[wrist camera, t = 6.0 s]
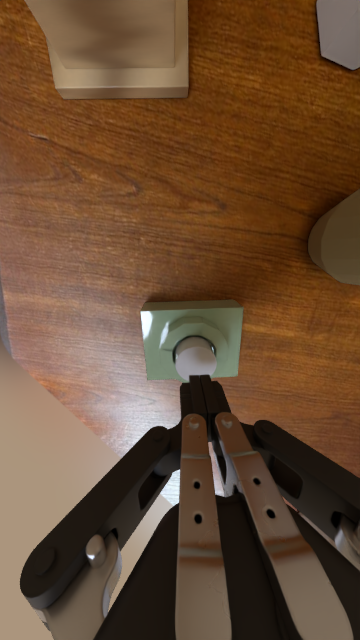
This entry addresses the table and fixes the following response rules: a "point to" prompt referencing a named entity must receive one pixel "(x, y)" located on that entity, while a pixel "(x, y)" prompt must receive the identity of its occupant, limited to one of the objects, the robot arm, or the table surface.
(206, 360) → the grey push button
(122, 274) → the table surface
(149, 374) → the green button base
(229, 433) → the robot arm
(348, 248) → the squeeze bottle
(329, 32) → the flask
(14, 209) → the table surface
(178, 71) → the stand
